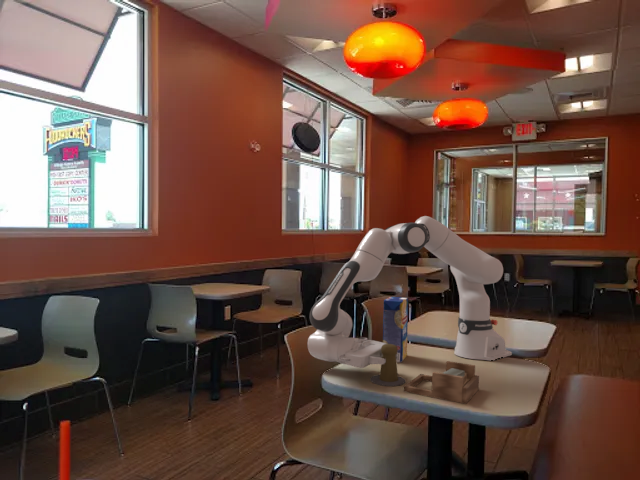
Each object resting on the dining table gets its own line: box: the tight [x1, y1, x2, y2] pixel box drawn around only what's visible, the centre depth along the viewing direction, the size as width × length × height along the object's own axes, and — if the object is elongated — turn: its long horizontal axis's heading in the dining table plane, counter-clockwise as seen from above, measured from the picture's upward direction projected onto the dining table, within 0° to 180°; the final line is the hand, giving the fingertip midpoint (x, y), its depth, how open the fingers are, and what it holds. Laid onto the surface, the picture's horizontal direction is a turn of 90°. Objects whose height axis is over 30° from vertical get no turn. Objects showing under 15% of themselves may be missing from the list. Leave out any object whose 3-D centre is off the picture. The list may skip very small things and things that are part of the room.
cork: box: [379, 344, 399, 382], centre depth 154 cm, size 6×6×11 cm
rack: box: [403, 360, 480, 405], centre depth 145 cm, size 18×15×7 cm
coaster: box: [370, 374, 406, 387], centre depth 154 cm, size 11×11×1 cm
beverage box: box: [382, 296, 409, 363], centre depth 181 cm, size 7×11×22 cm, turn 159°
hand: (390, 357), depth 153 cm, fingers open, 8 cm apart
